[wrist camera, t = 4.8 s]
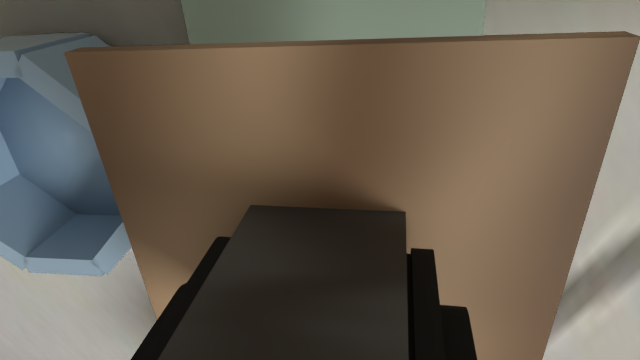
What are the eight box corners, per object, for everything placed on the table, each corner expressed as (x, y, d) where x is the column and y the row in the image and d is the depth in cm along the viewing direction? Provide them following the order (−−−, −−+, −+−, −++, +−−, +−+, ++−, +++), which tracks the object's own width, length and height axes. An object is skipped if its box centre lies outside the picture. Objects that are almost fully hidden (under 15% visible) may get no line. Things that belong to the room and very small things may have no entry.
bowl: (160, 28, 19) (95, 47, 15) (204, 222, 24) (165, 279, 20) (-41, 37, 21) (-153, 56, 16) (41, 217, 26) (-28, 269, 22)
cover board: (624, 31, 8) (979, 153, 3) (517, 408, 14) (580, 657, 9) (81, 47, 10) (-216, 133, 5) (185, 367, 16) (90, 550, 11)
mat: (487, -26, 16) (489, -25, 16) (453, 251, 23) (454, 257, 22) (183, -9, 18) (179, -8, 18) (232, 243, 25) (229, 248, 24)
